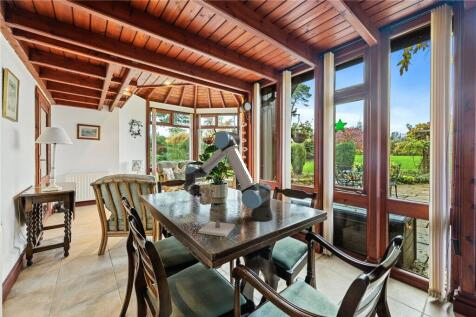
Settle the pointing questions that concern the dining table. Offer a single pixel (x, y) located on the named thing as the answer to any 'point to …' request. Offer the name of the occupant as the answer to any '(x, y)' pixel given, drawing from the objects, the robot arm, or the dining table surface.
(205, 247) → the dining table surface
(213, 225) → the base plate
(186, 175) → the robot arm
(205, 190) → the birch sleeve
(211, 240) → the dining table surface
